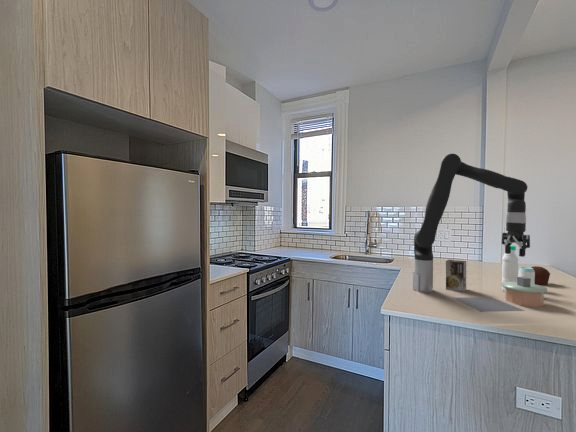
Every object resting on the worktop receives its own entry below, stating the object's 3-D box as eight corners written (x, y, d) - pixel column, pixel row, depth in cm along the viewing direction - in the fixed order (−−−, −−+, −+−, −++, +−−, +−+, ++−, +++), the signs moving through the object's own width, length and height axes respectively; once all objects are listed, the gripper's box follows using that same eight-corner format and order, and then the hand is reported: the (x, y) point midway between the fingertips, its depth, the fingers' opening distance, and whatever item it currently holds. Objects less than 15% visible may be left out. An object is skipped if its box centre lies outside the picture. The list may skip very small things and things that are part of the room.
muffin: (548, 286, 170) (548, 269, 170) (524, 283, 178) (524, 266, 178) (551, 283, 178) (551, 267, 177) (528, 280, 186) (528, 264, 186)
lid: (521, 293, 132) (521, 282, 132) (493, 283, 149) (493, 273, 149) (557, 292, 133) (558, 281, 133) (525, 283, 150) (525, 273, 150)
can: (517, 289, 165) (518, 267, 165) (519, 286, 170) (519, 266, 170) (534, 291, 160) (534, 269, 160) (534, 289, 165) (535, 267, 165)
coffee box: (466, 290, 163) (467, 261, 163) (463, 292, 158) (464, 262, 158) (448, 287, 169) (448, 259, 169) (445, 289, 165) (445, 260, 164)
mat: (480, 312, 127) (480, 311, 127) (452, 298, 147) (452, 297, 147) (524, 311, 128) (524, 310, 128) (491, 298, 148) (491, 297, 148)
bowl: (521, 307, 134) (522, 292, 133) (498, 298, 148) (498, 284, 147) (551, 307, 134) (551, 291, 134) (525, 298, 148) (525, 284, 148)
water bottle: (514, 290, 163) (515, 245, 162) (520, 293, 156) (521, 246, 155) (499, 289, 165) (500, 244, 164) (504, 292, 158) (505, 246, 158)
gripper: (497, 221, 150) (496, 252, 151) (520, 222, 136) (519, 257, 137) (511, 221, 151) (510, 252, 151) (536, 222, 136) (534, 257, 137)
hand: (514, 255), depth 144 cm, fingers open, 8 cm apart
